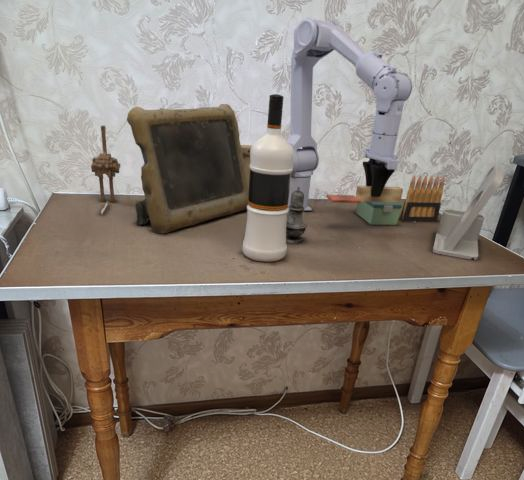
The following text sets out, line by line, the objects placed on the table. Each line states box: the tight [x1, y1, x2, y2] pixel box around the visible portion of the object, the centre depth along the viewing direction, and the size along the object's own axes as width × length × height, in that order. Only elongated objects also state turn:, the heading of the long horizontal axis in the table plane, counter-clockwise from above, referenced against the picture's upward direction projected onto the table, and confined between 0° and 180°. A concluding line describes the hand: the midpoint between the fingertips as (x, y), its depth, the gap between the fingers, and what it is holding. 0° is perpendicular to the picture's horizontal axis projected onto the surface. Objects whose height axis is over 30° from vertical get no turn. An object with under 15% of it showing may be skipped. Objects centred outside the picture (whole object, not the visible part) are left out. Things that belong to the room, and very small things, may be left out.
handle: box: [240, 144, 252, 190], centre depth 132 cm, size 5×6×15 cm
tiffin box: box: [355, 202, 403, 226], centre depth 131 cm, size 8×12×6 cm, turn 12°
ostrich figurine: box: [90, 124, 121, 214], centre depth 119 cm, size 17×7×18 cm, turn 7°
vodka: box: [241, 93, 294, 263], centre depth 94 cm, size 9×9×30 cm
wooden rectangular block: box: [325, 185, 404, 204], centre depth 116 cm, size 18×5×3 cm, turn 102°
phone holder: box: [432, 165, 504, 261], centre depth 112 cm, size 17×10×18 cm, turn 159°
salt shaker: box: [286, 186, 308, 245], centre depth 108 cm, size 6×6×12 cm
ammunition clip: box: [399, 174, 446, 222], centre depth 131 cm, size 11×2×12 cm, turn 104°
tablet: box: [126, 103, 249, 235], centre depth 115 cm, size 33×14×25 cm, turn 148°
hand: (373, 194), depth 117 cm, fingers closed on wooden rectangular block, 2 cm apart
